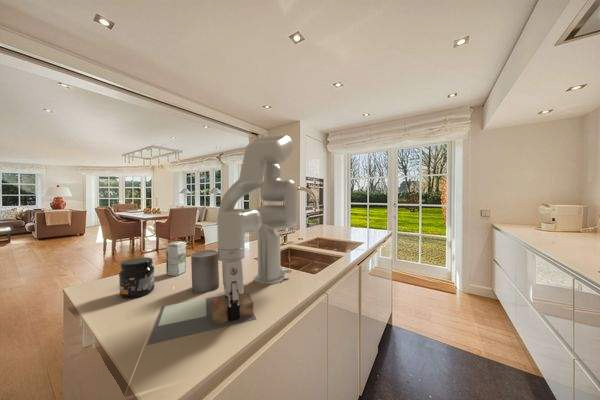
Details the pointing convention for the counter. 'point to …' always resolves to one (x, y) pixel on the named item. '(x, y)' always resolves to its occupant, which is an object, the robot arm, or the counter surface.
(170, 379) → the counter surface
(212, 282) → the pillar candle
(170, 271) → the syrup box
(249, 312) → the brown rectangular block
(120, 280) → the supplement container
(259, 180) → the robot arm
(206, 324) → the mat
